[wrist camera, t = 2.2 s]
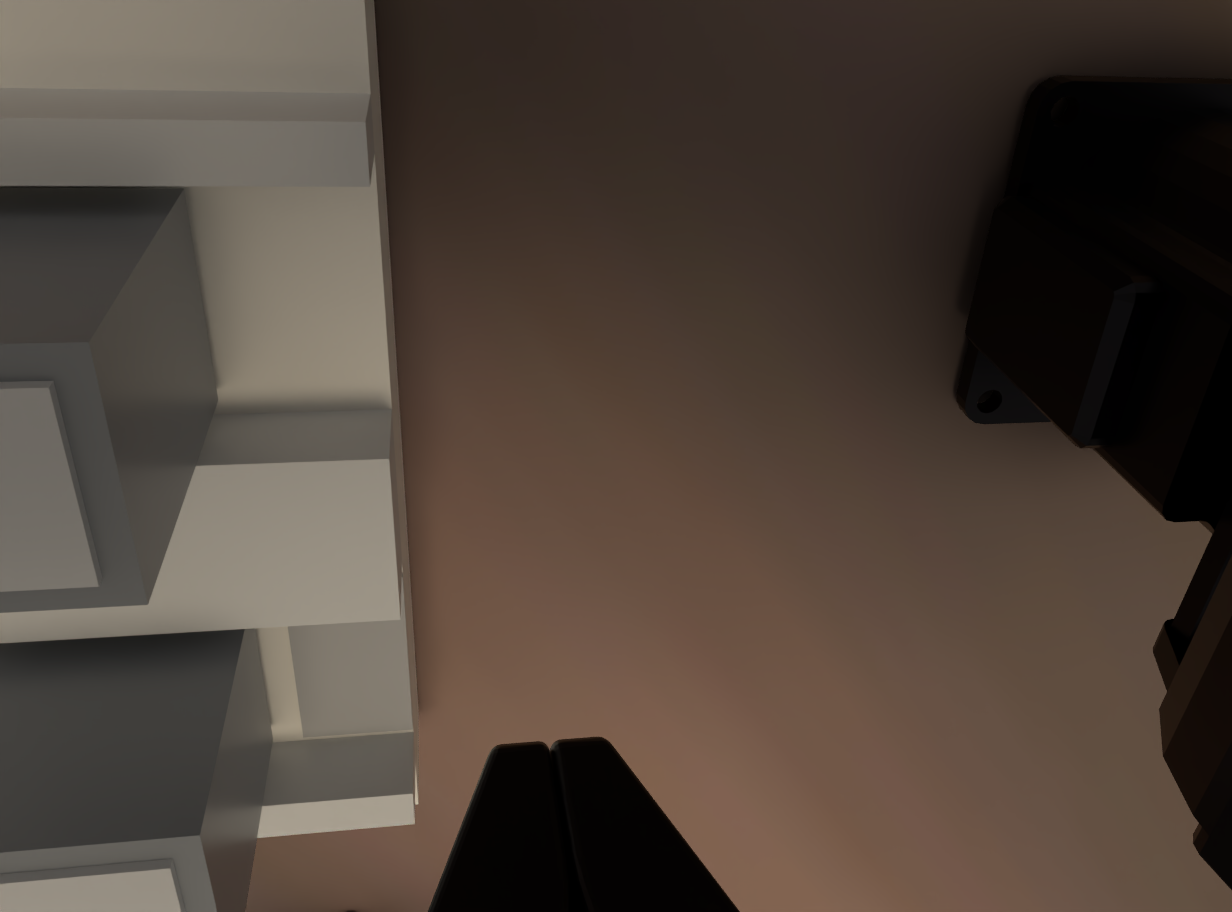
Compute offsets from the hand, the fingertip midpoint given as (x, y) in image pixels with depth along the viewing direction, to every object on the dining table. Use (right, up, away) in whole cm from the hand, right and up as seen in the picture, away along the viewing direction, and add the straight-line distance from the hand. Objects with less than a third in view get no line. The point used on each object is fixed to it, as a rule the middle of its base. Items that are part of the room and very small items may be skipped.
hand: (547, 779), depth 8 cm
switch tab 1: (-7, +5, +7) cm, 11 cm away
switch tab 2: (-8, -1, +10) cm, 13 cm away
